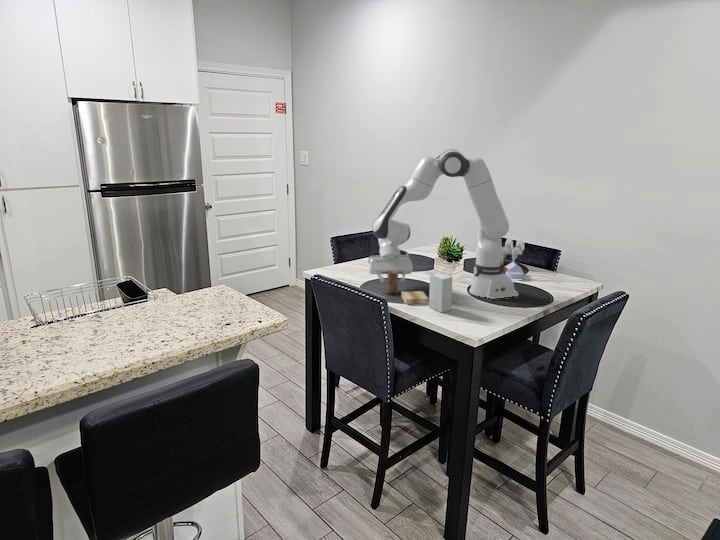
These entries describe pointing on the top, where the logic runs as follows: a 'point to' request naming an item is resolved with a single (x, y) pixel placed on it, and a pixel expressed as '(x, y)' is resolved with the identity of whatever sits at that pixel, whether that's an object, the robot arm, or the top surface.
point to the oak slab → (414, 297)
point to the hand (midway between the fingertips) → (392, 281)
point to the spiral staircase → (511, 249)
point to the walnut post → (392, 281)
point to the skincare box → (440, 292)
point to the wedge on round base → (514, 271)
